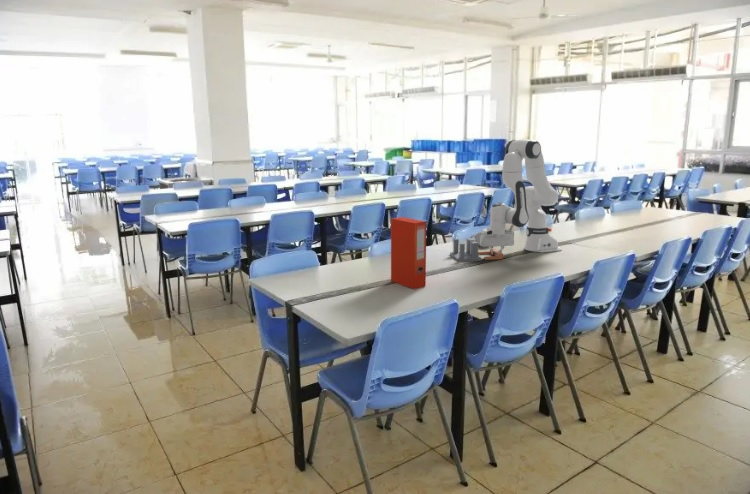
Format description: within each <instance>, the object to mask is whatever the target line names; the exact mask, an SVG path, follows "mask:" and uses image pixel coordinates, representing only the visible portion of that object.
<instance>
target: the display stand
mask: <svg viewBox="0 0 750 494" xmlns="http://www.w3.org/2000/svg"><path fill="white" fill-rule="evenodd" d="M474 241H475V238H473V237H472V238H466V244H465V243H464V242H460V240H459V238H453V249H452V252H451V251H450V252H449V256H451V257H452V258H453V259H454V258H455V259H456V260H457V261H456V260H455V259H454V260H455V261H456V262H458V261H461V262H476V261H479V262H480V261H482V257H481V256H479V255H478V252H479V246H478V242H474ZM459 242H460V243H459ZM465 245H466V247H465ZM465 249H466V250H465Z"/></svg>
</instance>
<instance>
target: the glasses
mask: <svg viewBox="0 0 750 494" xmlns="http://www.w3.org/2000/svg"><path fill="white" fill-rule="evenodd" d="M492 249H493V250H494V251H495V252H494V253H495V254H492V253H491V249H490V248H489V250H487V251H478V254H481V255H491V256H484V258H483V259H485V260H484V261H487V260H503V259H504V253H503V252H502V253H501V252H499V250H498V249H496V248H492ZM493 255H494V256H493Z"/></svg>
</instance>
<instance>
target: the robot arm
mask: <svg viewBox="0 0 750 494" xmlns="http://www.w3.org/2000/svg"><path fill="white" fill-rule="evenodd" d="M504 150H505V151H504V153H505V155H504V158H503V162H502V172H501V174H502V175H501V177H502V182H503V184H504V185H505V186H506V187H507V188H509V189H510V190H511V191H512V193H513V194H514V195H513V196H514V202H515V208H514V207H511V206H509V205H507V204H506V203H504V202H495V203H493V204H492V205H491V207H490V213H489V214H490V215H489V216H490V217H489V218H490V224H489V227H486V228H483V229H481V232H482V233H483V234H481V236H480V246H479V247H481V246H482V248H484V247H485V248H487V247H488V248H489V250H490V249H491V253H492V254H495V253H494V252H495V251H494V250H493V249H494V247H500V249H499V250H498V251H499V252H501V253H503V250H504V248H505V247H508V246H509V247H511V246H514V245H515V231H514V230H512V229H510V230H509V229H506V224H508V225H511V226H514V227H517V228H522V227H523V228H524V226H526V224H527V226H526V231H525V232H526V238H525V243H524V247H523V250H525V251H528V252H536V253H549V252H557V251H558V252H560V251H562V248H561V247H560V246H559V243H558V240H557V238H555V236H553V235H552V234H550V233H551V232H552V230H553V229H552V228H550V227H549V228H548V227H547V218H548V216H547V214H546V212H545V211H544V210H543V208H542V206H544V207H547V206H549V207H551V206H555V205H556V203H558V200H559V193H558V191H557V190H556V189H555V188H554V187H553V186H552V185H551V183H550V181H549V179H548V177H547V174H546V173H547V172H546V168H545V160H544V155H543V152H542V147H541V143H540V142H539V141H538V140H535V139H524V138H523V139H513V140H509V141H508V142H507V143H506V145H505V149H504ZM523 160H524V168H525V169H524V170H525V175H526V180H527V181H528V182H529V183H530V184H531V185H528V186H525V184H524V180H523Z"/></svg>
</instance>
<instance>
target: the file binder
mask: <svg viewBox="0 0 750 494" xmlns="http://www.w3.org/2000/svg"><path fill="white" fill-rule="evenodd" d="M426 270H427V221H425V220H420V219H415V218H410V217H405V216H400V217H393V218H390V282H393V283H396V284H397V285H401V286H404V287H407V288H410V289H412V290H416V289H421V288H424V287H426V281H427V280H426V279H427V278H426V274H427V273H426V272H427V271H426Z"/></svg>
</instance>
